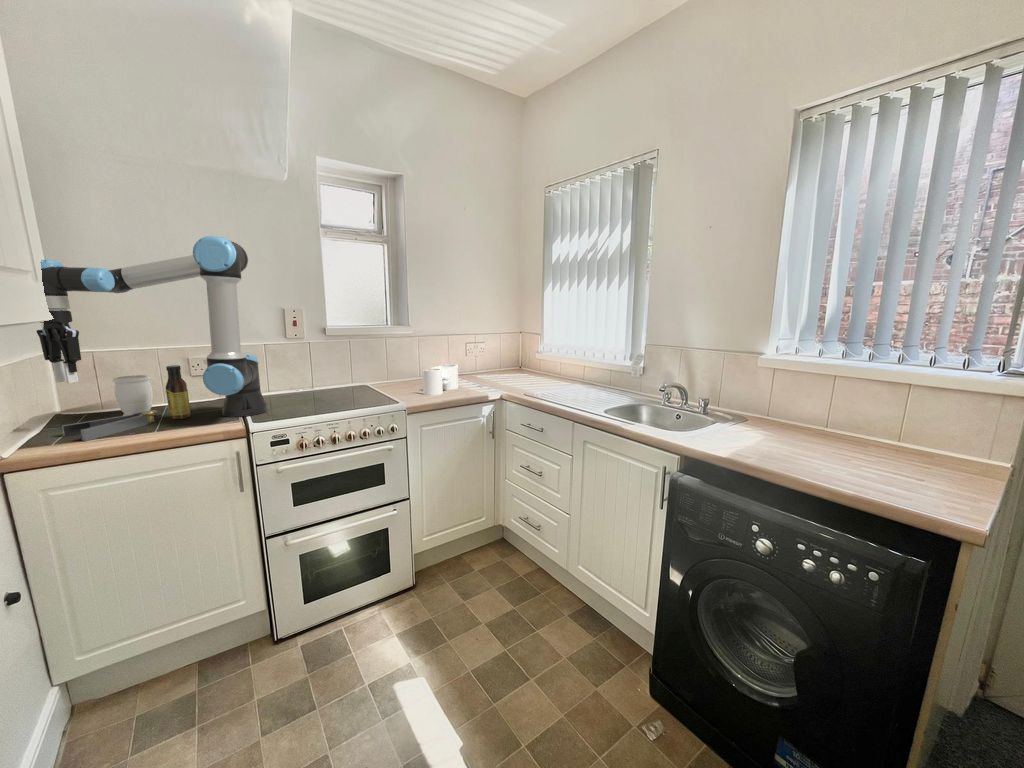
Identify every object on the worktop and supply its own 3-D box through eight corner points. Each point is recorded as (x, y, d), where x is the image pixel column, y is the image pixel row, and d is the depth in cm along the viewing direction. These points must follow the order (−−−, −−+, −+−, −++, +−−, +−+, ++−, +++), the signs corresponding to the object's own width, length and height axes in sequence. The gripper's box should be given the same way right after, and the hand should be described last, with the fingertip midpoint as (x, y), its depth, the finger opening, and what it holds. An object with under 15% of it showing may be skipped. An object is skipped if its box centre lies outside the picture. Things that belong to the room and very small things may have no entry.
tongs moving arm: (155, 420, 152) (154, 409, 152) (159, 421, 150) (158, 411, 149) (63, 435, 133) (61, 424, 132) (66, 438, 131) (64, 426, 130)
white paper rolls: (438, 396, 198) (437, 371, 196) (420, 394, 201) (419, 370, 199) (461, 387, 221) (461, 364, 219) (445, 385, 224) (445, 363, 222)
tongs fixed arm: (151, 421, 151) (149, 411, 150) (157, 421, 150) (156, 412, 150) (78, 440, 129) (76, 429, 128) (85, 441, 128) (83, 430, 128)
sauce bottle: (173, 416, 157) (166, 364, 154) (193, 415, 160) (186, 364, 156) (167, 420, 151) (159, 367, 148) (187, 419, 154) (180, 366, 150)
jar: (163, 413, 162) (157, 375, 159) (137, 420, 152) (130, 380, 149) (138, 412, 163) (132, 374, 160) (111, 419, 153) (104, 379, 150)
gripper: (88, 310, 134) (101, 381, 138) (47, 309, 137) (60, 379, 141) (60, 310, 127) (74, 385, 131) (16, 309, 129) (32, 383, 134)
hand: (67, 381), depth 136 cm, fingers open, 4 cm apart
